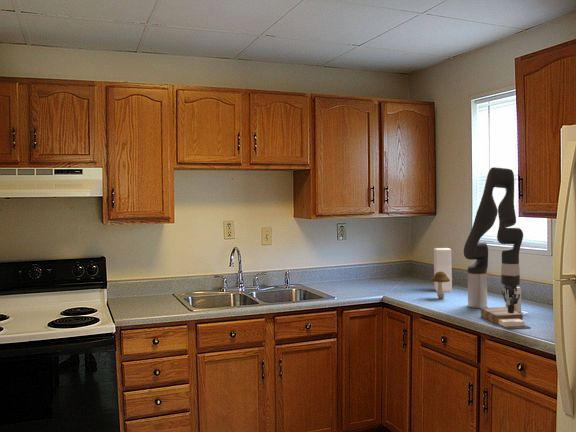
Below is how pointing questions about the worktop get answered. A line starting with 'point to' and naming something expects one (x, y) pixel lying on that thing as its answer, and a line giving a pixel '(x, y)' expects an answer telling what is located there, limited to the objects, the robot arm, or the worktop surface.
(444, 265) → the tall white carton
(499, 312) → the brown flat block
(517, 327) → the mat
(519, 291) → the skincare box
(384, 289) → the worktop surface
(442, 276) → the mushroom
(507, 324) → the cream rectangular block
